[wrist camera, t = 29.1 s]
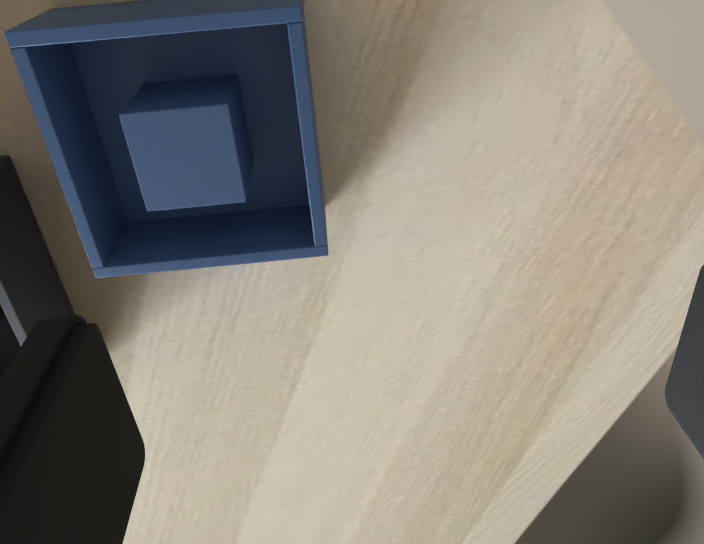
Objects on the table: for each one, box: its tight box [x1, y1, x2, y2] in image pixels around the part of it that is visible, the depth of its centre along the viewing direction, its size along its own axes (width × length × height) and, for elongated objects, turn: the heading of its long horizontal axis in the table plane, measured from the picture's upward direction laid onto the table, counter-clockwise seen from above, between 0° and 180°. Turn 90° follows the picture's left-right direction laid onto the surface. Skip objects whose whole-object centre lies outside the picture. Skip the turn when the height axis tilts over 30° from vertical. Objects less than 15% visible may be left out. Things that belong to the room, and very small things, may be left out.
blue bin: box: [4, 0, 328, 278], centre depth 28 cm, size 11×11×5 cm
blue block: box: [119, 75, 253, 211], centre depth 27 cm, size 4×4×4 cm
